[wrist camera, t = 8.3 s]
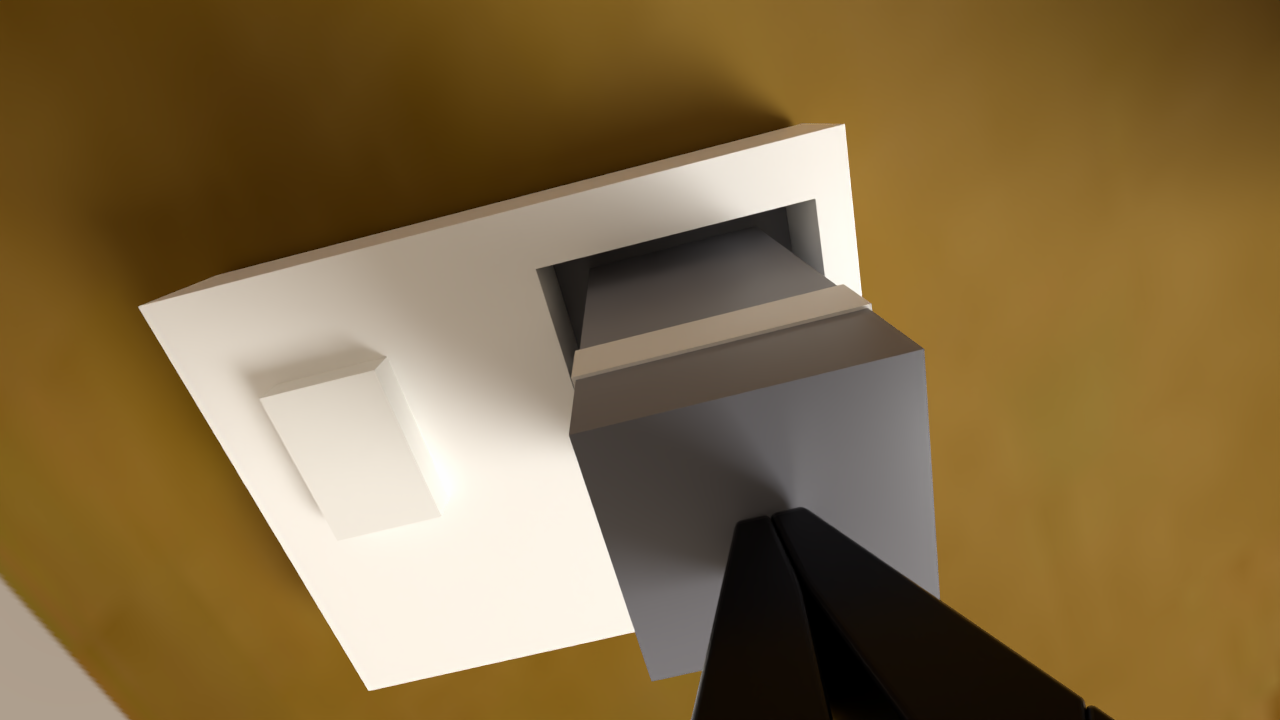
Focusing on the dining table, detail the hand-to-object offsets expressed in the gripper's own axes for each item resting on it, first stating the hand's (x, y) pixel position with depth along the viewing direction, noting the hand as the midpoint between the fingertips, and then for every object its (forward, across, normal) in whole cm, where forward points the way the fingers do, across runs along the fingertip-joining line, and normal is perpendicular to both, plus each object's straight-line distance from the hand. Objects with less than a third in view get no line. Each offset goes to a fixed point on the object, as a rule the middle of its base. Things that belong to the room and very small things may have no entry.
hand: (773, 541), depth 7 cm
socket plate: (+8, +4, +2) cm, 9 cm away
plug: (+8, 0, 0) cm, 8 cm away
